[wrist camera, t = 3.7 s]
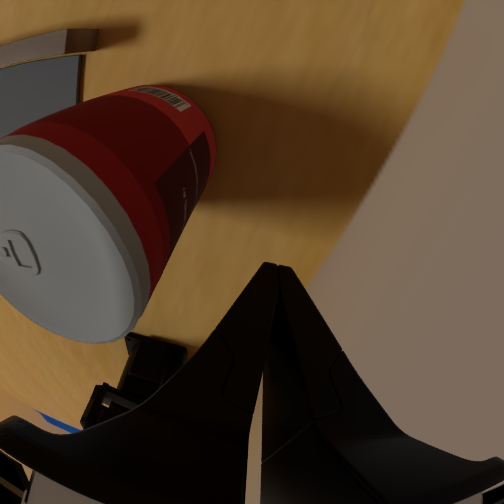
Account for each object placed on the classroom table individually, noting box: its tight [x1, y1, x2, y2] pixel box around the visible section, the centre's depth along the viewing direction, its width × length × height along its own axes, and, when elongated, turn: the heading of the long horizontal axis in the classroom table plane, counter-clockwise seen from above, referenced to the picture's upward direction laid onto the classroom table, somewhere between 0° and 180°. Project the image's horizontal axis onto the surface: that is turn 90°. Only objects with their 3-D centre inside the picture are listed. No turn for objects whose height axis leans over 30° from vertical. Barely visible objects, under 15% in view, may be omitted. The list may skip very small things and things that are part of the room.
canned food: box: [0, 85, 217, 344], centre depth 11 cm, size 8×8×11 cm
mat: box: [0, 55, 82, 138], centre depth 15 cm, size 11×14×1 cm
